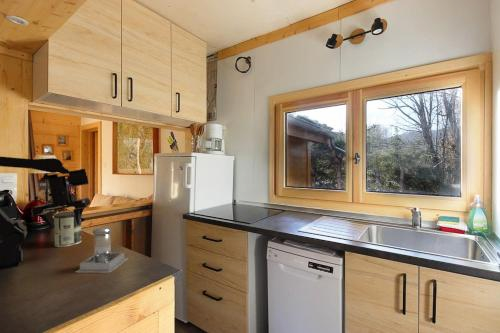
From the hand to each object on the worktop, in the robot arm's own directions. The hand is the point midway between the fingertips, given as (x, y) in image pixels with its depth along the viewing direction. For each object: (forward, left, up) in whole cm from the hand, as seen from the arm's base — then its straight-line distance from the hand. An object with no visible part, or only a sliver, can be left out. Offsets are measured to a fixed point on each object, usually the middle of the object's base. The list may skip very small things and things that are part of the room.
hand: (66, 226), depth 100 cm
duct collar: (+12, -21, -12) cm, 27 cm away
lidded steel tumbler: (+12, -21, -11) cm, 26 cm away
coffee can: (0, +17, -12) cm, 21 cm away
